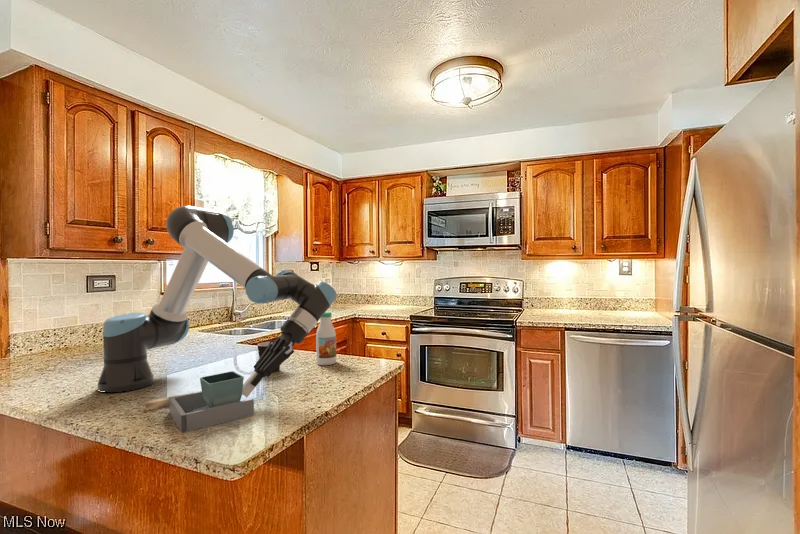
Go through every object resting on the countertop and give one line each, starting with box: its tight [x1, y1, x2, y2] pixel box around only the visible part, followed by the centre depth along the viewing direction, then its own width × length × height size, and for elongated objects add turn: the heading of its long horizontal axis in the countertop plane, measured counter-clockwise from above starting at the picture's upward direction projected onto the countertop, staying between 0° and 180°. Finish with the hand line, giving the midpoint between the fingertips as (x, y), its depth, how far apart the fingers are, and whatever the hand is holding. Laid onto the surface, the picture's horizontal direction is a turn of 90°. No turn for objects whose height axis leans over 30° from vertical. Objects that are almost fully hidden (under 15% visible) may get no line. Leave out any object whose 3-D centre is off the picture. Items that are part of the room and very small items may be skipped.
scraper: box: [144, 391, 195, 411], centre depth 112 cm, size 15×8×2 cm, turn 129°
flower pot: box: [199, 370, 245, 408], centre depth 105 cm, size 9×9×9 cm
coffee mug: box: [257, 341, 291, 373], centre depth 144 cm, size 12×9×10 cm
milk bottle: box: [315, 311, 338, 366], centre depth 154 cm, size 8×8×20 cm
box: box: [168, 390, 255, 434], centre depth 103 cm, size 16×17×4 cm
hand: (242, 394), depth 107 cm, fingers closed
